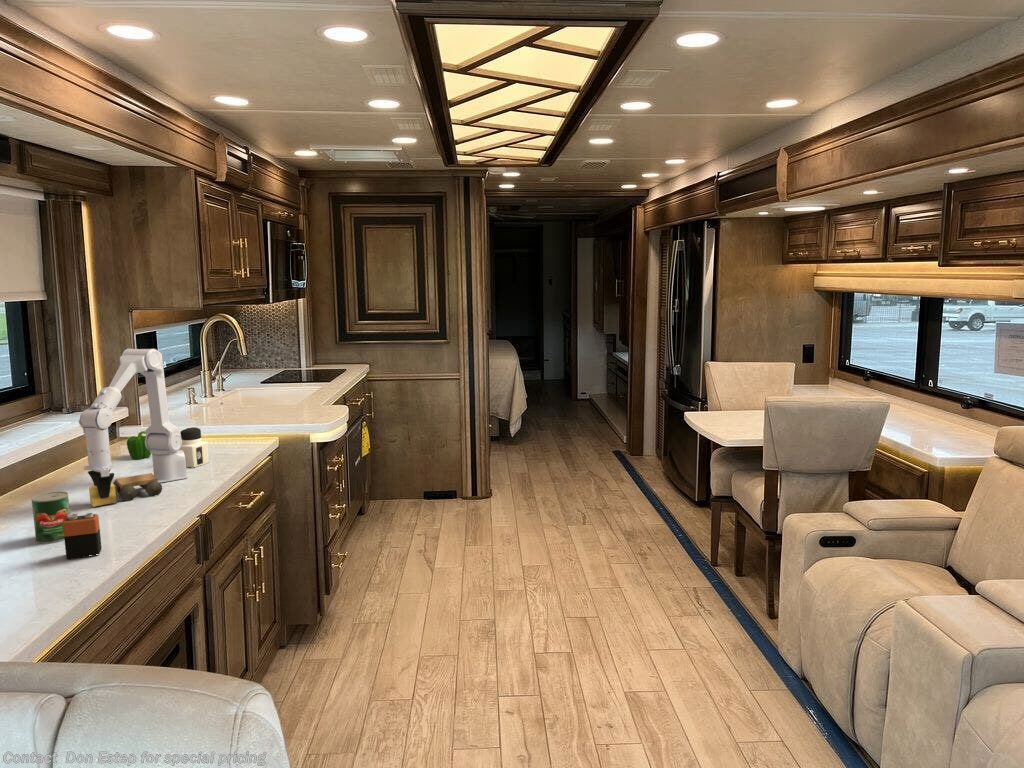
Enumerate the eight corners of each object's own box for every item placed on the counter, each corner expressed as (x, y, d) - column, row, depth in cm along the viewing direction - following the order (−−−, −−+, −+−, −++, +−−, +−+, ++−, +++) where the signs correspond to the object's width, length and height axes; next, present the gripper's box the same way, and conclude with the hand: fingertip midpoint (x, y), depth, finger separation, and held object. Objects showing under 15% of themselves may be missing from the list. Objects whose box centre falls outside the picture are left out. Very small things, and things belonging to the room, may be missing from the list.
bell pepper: (122, 460, 264) (120, 433, 263) (140, 454, 272) (137, 428, 270) (141, 461, 262) (138, 434, 260) (158, 456, 269) (156, 429, 268)
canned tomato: (45, 545, 180) (40, 502, 178) (29, 540, 184) (24, 497, 182) (78, 536, 186) (74, 494, 185) (62, 530, 190) (58, 489, 189)
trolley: (153, 486, 230) (152, 471, 229) (162, 494, 221) (161, 479, 220) (113, 493, 223) (111, 478, 222) (120, 502, 214) (119, 486, 213)
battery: (69, 553, 174) (65, 513, 173) (102, 549, 177) (98, 509, 175) (66, 560, 170) (61, 518, 169) (99, 555, 173) (95, 515, 171)
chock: (115, 498, 216) (114, 482, 215) (118, 502, 212) (117, 485, 212) (90, 503, 212) (88, 486, 211) (92, 506, 208) (91, 489, 208)
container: (209, 462, 259) (207, 426, 257) (193, 468, 251) (191, 431, 249) (192, 461, 261) (189, 425, 259) (176, 466, 254) (173, 430, 252)
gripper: (78, 447, 213) (83, 492, 215) (87, 457, 201) (91, 504, 203) (105, 444, 217) (110, 488, 219) (115, 452, 206) (120, 499, 208)
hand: (103, 495), depth 212 cm, fingers closed on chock, 4 cm apart
